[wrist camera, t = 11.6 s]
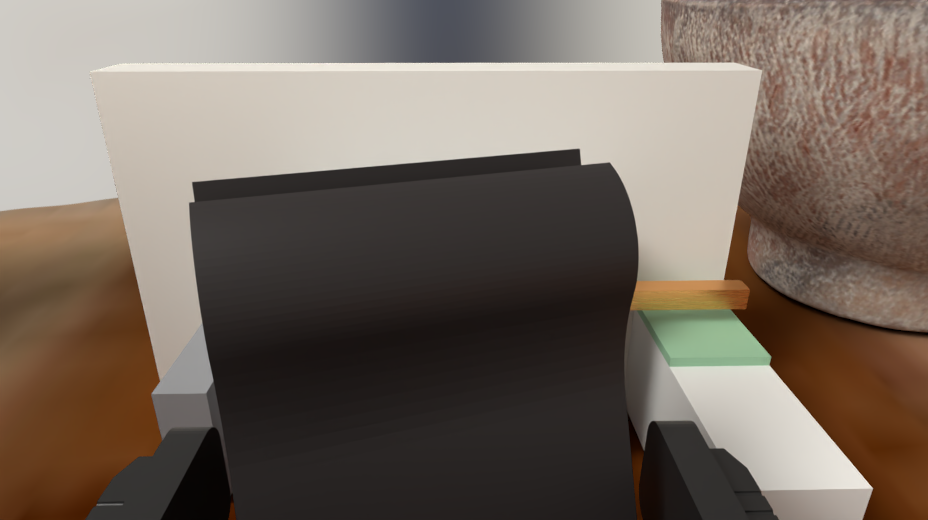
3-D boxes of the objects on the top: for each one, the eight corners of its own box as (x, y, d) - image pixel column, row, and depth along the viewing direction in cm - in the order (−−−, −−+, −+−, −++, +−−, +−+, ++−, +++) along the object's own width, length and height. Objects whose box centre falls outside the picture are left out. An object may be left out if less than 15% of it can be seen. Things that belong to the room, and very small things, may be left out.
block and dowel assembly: (275, 478, 20) (238, 241, 17) (295, 417, 23) (268, 204, 19) (748, 470, 20) (803, 236, 17) (712, 411, 23) (753, 201, 20)
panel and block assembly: (20, 630, 15) (-182, 141, 11) (186, 376, 25) (121, 63, 20) (831, 611, 16) (992, 135, 11) (683, 369, 26) (734, 62, 21)
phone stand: (666, 899, 11) (833, 267, 6) (315, 1077, 9) (154, 383, 4) (483, 517, 19) (492, 106, 14) (273, 573, 17) (199, 123, 12)
